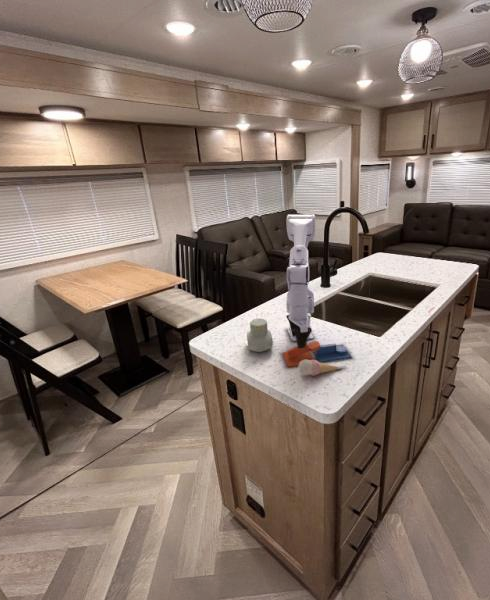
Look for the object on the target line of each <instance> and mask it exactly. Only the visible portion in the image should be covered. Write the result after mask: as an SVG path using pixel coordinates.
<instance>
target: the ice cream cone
mask: <svg viewBox="0 0 490 600" xmlns="http://www.w3.org/2000/svg"><path fill="white" fill-rule="evenodd" d="M297 369H298V372H299V373H300V374H301V375H303V376H317V375H319V374H322V373H327V372H332V371H336V370H341V369H343V367H340V366H335V365H332V364H328V363H325V362H319V361H318V360H317V359H314V360H307V359H306V360H302V361H301V362H300V363H299V365H298V366H297Z"/></svg>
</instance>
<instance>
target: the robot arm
mask: <svg viewBox="0 0 490 600" xmlns="http://www.w3.org/2000/svg"><path fill="white" fill-rule="evenodd" d="M286 232H287V237H288V240H289V241H291V242H293V246H292V247H291V249H290V250H289V262H288V266H287V268H286V282H287V293H286V304H285V305H286V312H287V313H288V314H287V315H286V316H285V317H286V319H287V321H288V324H289V327H287V329H286V330H287V332H288V334H289V337H290V339H291V341H292V342H296V346H298V348H305V346H306V342H307V341H308V340H314V336H313V333H312V331H313V330H312V327H311V318H312V314H314V312H315V297H314V296H315V293H314V291H313V290H312V289H310V288H309V283H310V264H309V263H310V262H309V250H308V245H309V243H310V242H311V241H314V239H315V236H316V235H315V234H316V233H315V232H316V215H315V214H314V213H312V214H291V213H289V214H287V215H286Z"/></svg>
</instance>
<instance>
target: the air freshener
mask: <svg viewBox="0 0 490 600" xmlns="http://www.w3.org/2000/svg"><path fill="white" fill-rule="evenodd" d="M246 341H247V349H248V350H249V351H252V352H257V353H262V352H266V351H268V350H270V349H271V348H272V347H273V346H274V342H273V335H272V332H271V330H269V329H268V321H267V320H266V319H264V318H254V319H252V320H251V321H250V322H249V331H248V332H247V333H246Z"/></svg>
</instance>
